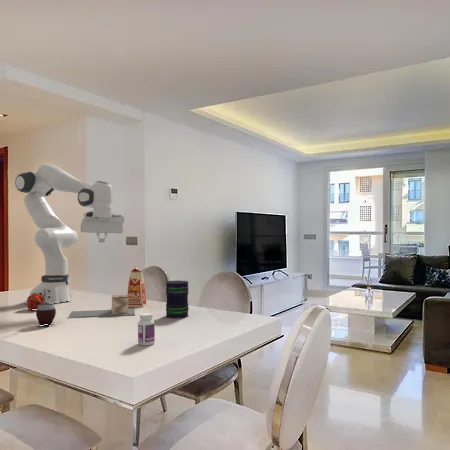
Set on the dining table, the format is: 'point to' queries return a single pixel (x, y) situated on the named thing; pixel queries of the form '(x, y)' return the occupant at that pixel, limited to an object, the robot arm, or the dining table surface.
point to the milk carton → (136, 289)
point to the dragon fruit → (35, 301)
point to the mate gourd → (45, 312)
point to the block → (119, 304)
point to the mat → (99, 313)
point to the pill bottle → (146, 330)
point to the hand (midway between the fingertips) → (101, 242)
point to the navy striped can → (177, 299)
